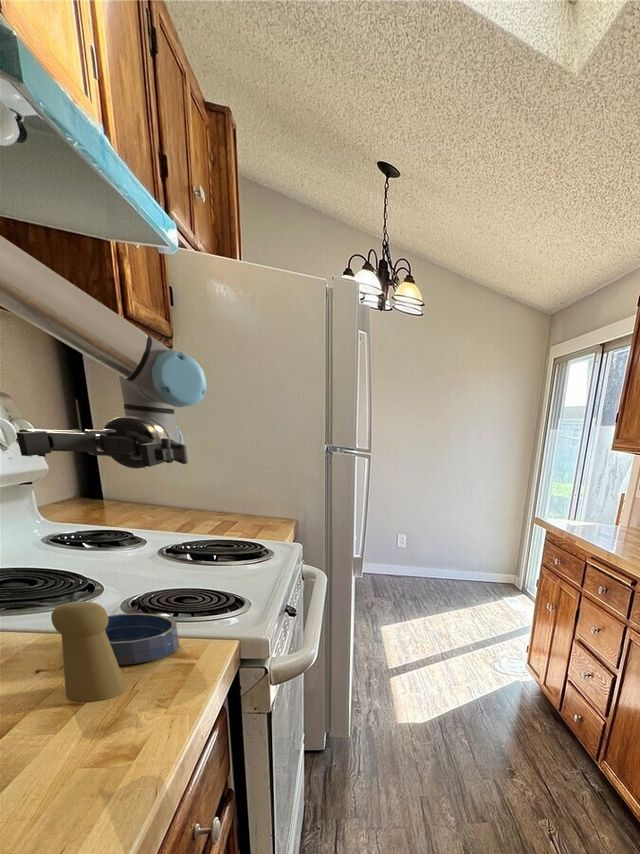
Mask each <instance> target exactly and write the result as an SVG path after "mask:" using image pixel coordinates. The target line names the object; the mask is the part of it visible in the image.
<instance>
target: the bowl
mask: <svg viewBox="0 0 640 854" xmlns="http://www.w3.org/2000/svg"><path fill="white" fill-rule="evenodd" d="M105 632H106V634H107V637H108V640H109V642H110V645H111V647H112V650H113V653H114V655H115V658H116V660H117V663H118V666H128V665H136V664H137V665H138V664H143V663H147V662H153V661H156V660H158V659H161V658H165V657H167V656H169V655H171V654H173V653H175V652H176V651H177V650H178V649H179V648H180V637H179V631H178V623H177V621H175V620H174V619H173V618H170V617H167V616H164V615H159V614H155V613H154V614H153V613H136V612H135V613H120V614H111V615H108V625H107V627H106V629H105Z"/></svg>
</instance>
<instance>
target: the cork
mask: <svg viewBox="0 0 640 854" xmlns="http://www.w3.org/2000/svg"><path fill="white" fill-rule="evenodd" d="M50 616H51V617H50V620H51V623H52V625H53V627H54V629H55V631H56V632H58V633H59V634H60V635H61V647H62V649H61V650H62V661H63V663H62V664H63V675H64V689H65V690H64V691H65V696H66V698H67V699H68V700H70V701H74V702H81V703H88V702H89V703H90V702H100V701H104V700H105V701H106V700H108V699H112V698H115V697H117V696H119V695H121V694H123V693H124V692H125V691H126V689H127V688H128V687H127V684H126V682H125V679H124V676H123V674H122V670H121V668H120V665H118V663H117V660H116V658H115V655H114V653H113V650H112V647H111V645H110V642H109V640H108V637H107V634H106V632H105V629H106V627H107V625H108V616H109V615H108V612H107V611H106V609H105V608H104V607H103V606H102V605H101V604H99V603H97V602H93V601H86V600H85V601H71V602H65V603H62V604H60V605H57V606H55V607H54V609H53V611H52V612H51V615H50Z"/></svg>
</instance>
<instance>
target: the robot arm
mask: <svg viewBox="0 0 640 854" xmlns="http://www.w3.org/2000/svg"><path fill="white" fill-rule="evenodd" d="M0 306H1V307H2V308H4V309H5V310H7V311H9V312H11V313H12V314H14V315H16V316H18V317H19V318H21V319H22V320H24V321H26V322H28V323H29V324H31V325H33V326H34V327H36V328H38V329H40V330H41V331H43V332H44V333H47V334H48V335H50V336H52V337H53V338H55V339H57V340H58V341H60V342H62V343H64V344H65V345H67V346H69V348H72V349H73V350H76V351H77V352H79V353H80V354H82V355H84V356H85V357H87V358H89V359H90V360H92V361H94V362H95V363H97V364H99V365H101V366H103V367H105V368H106V369H108V370H109V371H111V372H113V373H114V374H116V375H118V380H119V385H120V391H121V397H122V403H123V409H124V416H120V417H119V416H118V417H115V418H113V419H111V420H109V421H108V422H107V423H106V424H105V425H104V427H103V428H101V429H100V430H98V429H84V431H83V430H79V429H71V430H70V429H67V430H65V429H64V430H63V429H62V430H61V429H29V428H25V427H24V428H23V427H22V428H19V429H18V432H15V435H16V439H17V442H18V447H19V451H20V456H22V457H33V456H37V457H44V458H46V455H47V454H52V452H77V453H78V452H79V453H80V452H84V453H85V452H86V453H87V454H88V455H92V456H97V457H98V456H103V457H105V456H106V457H109V458H111V459H112V460H113V461H115V462H116V463H118V464H119V465H121V466H123V467H125V468H130V469H137V470H138V469H144V470H149V469H150V468H151V467H153V466H157V465H160V464H163V463H167V464H171V463H174V462H175V463H176V462H177V463H179V464H181V465H186V464H189V461H188V460H189V459H188V453H187V452H188V451H187V445H185V444H184V437H183V434H182V432H181V430H180V429H179V427H178V426H177V420H176V415H175V408H184V407H185V408H186V407H193V406H195V405H198V404H199V403H201V401H202V400H203V399H204V398H205V396H206V393H207V386H208V382H207V378H206V374H205V372H204V370H203V369H202V367H201V366H200V364H199V363H198V362H197V361H196V360H195V359H194V358H192V357H191V356H190V355H188V354H185V353H183V352H181V351H178V350H175V349H174V350H173V349H170V348H168V347H167V346H166V345H165V344H164V343H162V342H160V341H158V340H157V339H155V338H154V337H152V336H150V335H149V334H148V333H146V332H145V331H143V330H142V329H140V328H139V327H138V326H136V325H134V324H133V323H132V322H130V321H129V320H127V319H126V318H124V317H123V316H121V315H120V314H118V313H116V311H114V310H112V309H110V308H109V307H108V306H106V305H104V304H103V302H101V301H98V299H95V298H94V297H92V295H89V294H88V293H87V292H85V290H82V289H81V288H79V287H78V286H77V285H75V284H73V283H72V282H70V281H69V280H67V279H66V278H65V277H63V276H61V275H60V274H58V273H57V272H56V271H54V270H52V269H51V268H50V267H48V266H47V265H46V264H45V263H44V264H43V263H42V262H41V261H39V260H37V259H36V258H34V257H33V256H32V255H30V254H29V253H28V252H26V251H24V250H23V249H22V248H20V247H19V246H17V245H15V244H14V243H12V242H11V241H9V240H8V239H7V238H5V237H4V236H2V235H0ZM174 407H175V408H174Z"/></svg>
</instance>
